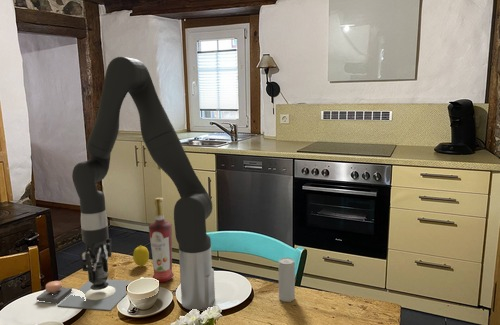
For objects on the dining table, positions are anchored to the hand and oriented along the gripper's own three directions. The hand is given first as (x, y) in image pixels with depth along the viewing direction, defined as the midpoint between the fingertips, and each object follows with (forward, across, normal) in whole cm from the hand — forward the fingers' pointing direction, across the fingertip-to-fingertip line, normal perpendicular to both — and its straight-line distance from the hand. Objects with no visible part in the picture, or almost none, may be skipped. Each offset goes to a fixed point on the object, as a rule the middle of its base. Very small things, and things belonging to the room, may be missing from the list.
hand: (98, 276), depth 123 cm
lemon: (+6, +21, -4) cm, 22 cm away
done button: (+4, -4, +13) cm, 14 cm away
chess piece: (+3, 0, 0) cm, 3 cm away
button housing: (+6, -4, +13) cm, 15 cm away
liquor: (+6, +12, -16) cm, 21 cm away
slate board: (+6, 0, 0) cm, 6 cm away
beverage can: (+6, +5, -58) cm, 58 cm away
